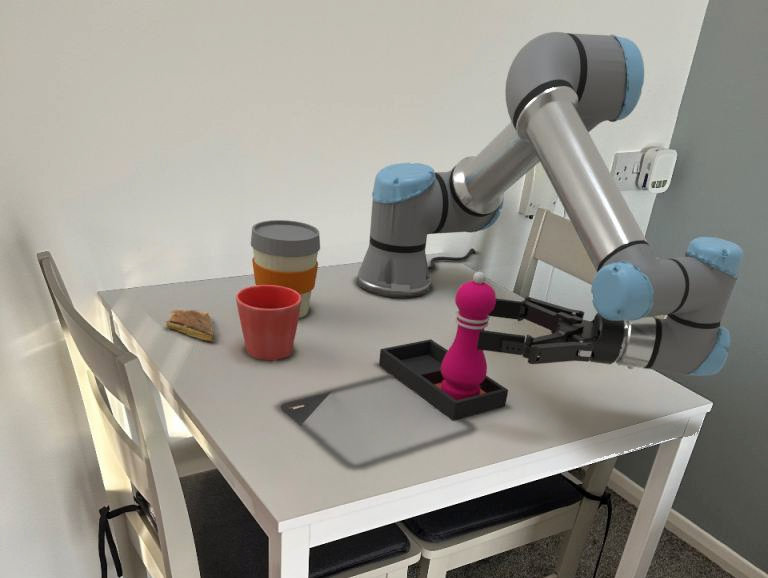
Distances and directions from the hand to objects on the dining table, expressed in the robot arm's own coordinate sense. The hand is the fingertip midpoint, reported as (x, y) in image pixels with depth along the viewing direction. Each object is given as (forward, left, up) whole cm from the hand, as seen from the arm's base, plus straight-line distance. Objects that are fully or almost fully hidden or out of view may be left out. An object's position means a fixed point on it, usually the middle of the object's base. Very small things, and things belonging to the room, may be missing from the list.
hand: (478, 321), depth 117 cm
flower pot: (+21, -28, -13) cm, 37 cm away
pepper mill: (+1, 0, -13) cm, 13 cm away
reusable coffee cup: (+10, -43, -13) cm, 46 cm away
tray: (+1, -6, -13) cm, 14 cm away
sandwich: (+28, -41, -13) cm, 51 cm away
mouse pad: (+17, -1, -14) cm, 22 cm away
